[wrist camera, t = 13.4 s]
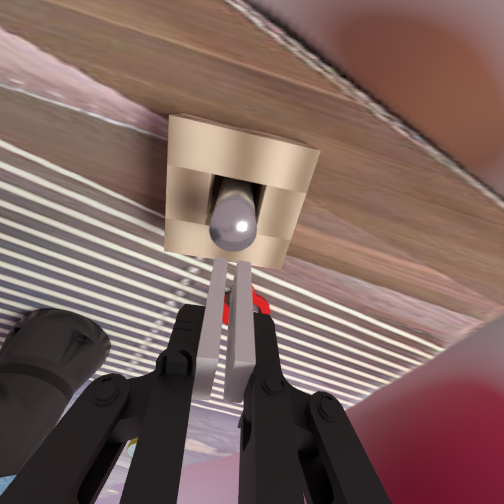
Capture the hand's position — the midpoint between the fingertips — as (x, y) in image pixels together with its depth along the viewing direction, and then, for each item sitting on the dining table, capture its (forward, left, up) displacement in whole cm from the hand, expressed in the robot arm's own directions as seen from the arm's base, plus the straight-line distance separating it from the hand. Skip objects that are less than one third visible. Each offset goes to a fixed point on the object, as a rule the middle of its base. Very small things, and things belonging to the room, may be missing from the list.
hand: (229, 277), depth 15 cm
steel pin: (0, 0, -18) cm, 18 cm away
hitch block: (0, 0, -18) cm, 18 cm away
